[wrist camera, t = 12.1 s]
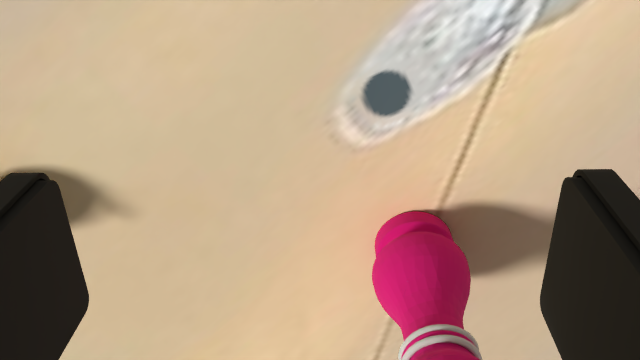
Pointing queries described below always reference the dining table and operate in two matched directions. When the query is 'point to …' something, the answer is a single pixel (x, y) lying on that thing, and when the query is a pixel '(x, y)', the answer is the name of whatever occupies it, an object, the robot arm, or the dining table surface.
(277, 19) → the dining table surface
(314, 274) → the dining table surface
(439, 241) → the pepper mill
